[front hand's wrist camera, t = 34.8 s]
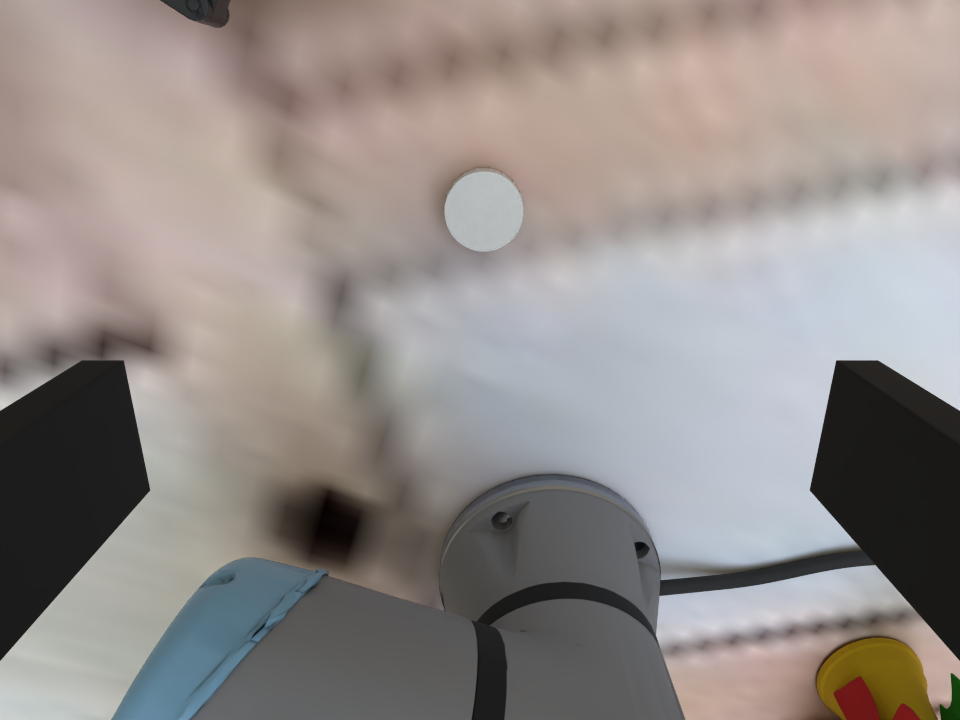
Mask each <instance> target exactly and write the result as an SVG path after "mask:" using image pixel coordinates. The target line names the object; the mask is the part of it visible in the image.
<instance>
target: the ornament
mask: <svg viewBox="0 0 960 720" xmlns="http://www.w3.org/2000/svg"><path fill="white" fill-rule="evenodd" d="M951 684H952V702H951V705H950V707H949V708H948V709H946V708H945V707H944V706H943V705H941V704H940V714H941V720H960V680H959V679H958V678H957V677H956V676H955V675H954V674H952V673H951ZM817 691H818V694H819V696H820V698H821V700H822V701H823V702H824V704H825V705H826V706H827V707H828V708H829V709H830V710H831V711H832V712H834V713H835V714H837V715H838V716H839V717H840V718H841V719H842V720H938V719H937V717H936V715H935V712H934V710H933V708H932V706H931V704H930V702H929V699H928V695H927V681H926V678H925V676H924V674H923V668H922V664H921V662H920V660H919V658H918V657H917V655H916V654H915V653H914V651H913V650H912V649H911V648H910V647H908V646H907V645H906V644H904V643H902V642H900V641H897V640H893V639H889V638H869V639H863V640H859V641H856V642H853V643H851V644H848V645H846V646H844V647H842V648H841V649H839V650H837V651H836V652H835V653H834V654H832V655H831V656H830V657H829V658H828V659H827V660H826V661H825V663H824V664H823V666H822V667H821V669H820V671H819V673H818V677H817Z"/></svg>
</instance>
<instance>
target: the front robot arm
mask: <svg viewBox="0 0 960 720" xmlns="http://www.w3.org/2000/svg"><path fill="white" fill-rule="evenodd" d="M149 491H150V487H149V482H148V477H147V472H146V468H145V463H144V458H143V453H142V448H141V443H140V438H139V433H138V428H137V423H136V419H135V414H134V409H133V404H132V399H131V394H130V389H129V384H128V379H127V375H126V370H125V365H124V361H81V362H79V363H77V364H76V365H74V366H72V367H71V368H69V369H68V370H66V371H64V372H63V373H61V374H59V375H58V376H56V377H55V378H53V379H51V380H50V381H48V382H46V383H45V384H43V385H42V386H40V387H38V388H37V389H35V390H33V391H32V392H30V393H29V394H27V395H25V396H24V397H22V398H20V399H19V400H17V401H16V402H14V403H12V404H11V405H9V406H7V407H6V408H4V409H3V410H1V411H0V660H1V659H2V658H3V657H4V656H5V655H6V654H7V652H8V651H9V650H10V649H11V648H12V647H13V646H14V644H15V643H16V642H17V641H18V640H19V639H20V638H21V637H22V635H23V634H24V633H25V632H26V631H27V630H28V629H29V627H30V626H31V625H32V624H33V623H34V622H35V621H36V619H37V618H38V617H39V616H40V615H41V614H42V613H43V612H44V610H45V609H46V608H47V607H48V606H49V605H50V604H51V602H52V601H53V600H54V599H55V598H56V597H57V596H58V594H59V593H60V592H61V591H62V590H63V589H64V588H65V586H66V585H67V584H68V583H69V582H70V581H71V580H72V579H73V577H74V576H75V575H76V574H77V573H78V572H79V571H80V569H81V568H82V567H83V566H84V565H85V564H86V563H87V561H88V560H89V559H90V558H91V557H92V556H93V555H94V554H95V552H96V551H97V550H98V549H99V548H100V547H101V546H102V544H103V543H104V542H105V541H106V540H107V539H108V538H109V536H110V535H111V534H112V533H113V532H114V531H115V530H116V529H117V527H118V526H119V525H120V524H121V523H122V522H123V521H124V519H125V518H126V517H127V516H128V515H129V514H130V513H131V511H132V510H133V509H134V508H135V507H136V506H137V505H138V504H139V502H140V501H141V500H142V499H143V498H144V497H145V496H146V494H147V493H148V492H149ZM810 491H811V492H812V493H813V494H814V496H815V497H816V498H817V499H818V500H819V501H820V502H821V504H822V505H823V506H824V507H825V508H826V509H827V510H828V511H829V513H830V514H831V515H832V516H833V517H834V518H835V519H836V521H837V522H838V523H839V524H840V525H841V526H842V527H843V529H844V530H845V531H846V532H847V533H848V534H849V535H850V536H851V538H852V539H853V540H854V541H855V542H856V543H857V544H858V546H859V547H860V548H861V549H862V550H863V551H856V552H847V553H839V554H833V555H827V556H822V557H816V558H811V559H807V560H802V561H797V562H793V563H788V564H784V565H779V566H775V567H770V568H764V569H759V570H753V571H747V572H740V573H732V574H723V575H712V576H701V577H691V578H681V579H670V580H661V570H660V562H659V558H658V554H657V551H656V548H655V546H654V543H653V541H652V538H651V536H650V533H649V531H648V529H647V527H646V525H645V523H644V521H643V520H642V518H641V517H640V515H639V514H638V513H637V512H636V510H635V509H634V508H633V507H632V506H631V505H630V504H629V503H628V502H627V501H626V500H624V499H623V498H622V497H620V496H619V495H618V494H616V493H615V492H613V491H611V490H610V489H608V488H606V487H604V486H602V485H599V484H597V483H594V482H591V481H588V480H585V479H581V478H576V477H571V476H562V475H541V476H532V477H526V478H521V479H518V480H514V481H511V482H508V483H505V484H502V485H500V486H498V487H496V488H494V489H492V490H490V491H488V492H487V493H485V494H483V495H482V496H480V497H479V498H478V499H476V500H475V501H474V502H473V503H471V504H470V505H469V506H468V507H467V508H466V509H465V510H464V511H463V512H462V513H461V514H460V516H459V517H458V518H457V519H456V521H455V522H454V524H453V525H452V527H451V529H450V531H449V533H448V535H447V537H446V540H445V543H444V545H443V550H442V554H441V564H440V575H439V589H440V595H441V600H442V603H443V606H444V609H445V611H444V610H443V611H441V610H438V609H434V608H431V607H427V606H424V605H421V604H417V603H414V602H410V601H407V600H403V599H400V598H397V597H393V596H390V595H387V594H383V593H380V592H377V591H374V590H371V589H367V588H364V587H361V586H358V585H355V584H351V583H348V582H345V581H342V580H339V579H335V578H332V577H329V576H328V574H329V571H326V570H323V569H318V570H315V571H311V570H306V569H302V568H298V567H294V566H290V565H286V564H282V563H278V562H274V561H270V560H265V559H261V558H242V559H238V560H235V561H233V562H230V563H228V564H226V565H225V566H223V567H221V568H220V569H218V570H217V571H216V572H215V573H213V574H212V575H211V576H210V577H209V578H208V579H207V580H206V581H205V582H204V583H203V584H202V585H201V586H200V587H199V588H198V590H197V591H196V592H195V593H194V594H193V596H192V597H191V598H190V599H189V600H188V602H187V603H186V604H185V606H184V607H183V608H182V609H181V611H180V612H179V613H178V615H177V616H176V618H175V619H174V620H173V622H172V623H171V624H170V626H169V627H168V629H167V630H166V632H165V633H164V635H163V636H162V638H161V639H160V641H159V642H158V644H157V645H156V647H155V648H154V650H153V651H152V653H151V654H150V656H149V657H148V659H147V660H146V662H145V664H144V665H143V667H142V668H141V670H140V672H139V673H138V675H137V677H136V678H135V680H134V681H133V683H132V685H131V686H130V688H129V690H128V691H127V693H126V695H125V697H124V698H123V700H122V702H121V704H120V705H119V707H118V709H117V711H116V712H115V714H114V716H113V718H112V720H685V717H684V715H683V712H682V709H681V706H680V703H679V700H678V697H677V695H676V692H675V689H674V686H673V683H672V680H671V678H670V675H669V672H668V669H667V666H666V663H665V661H664V658H663V655H662V652H661V650H660V647H659V644H658V641H657V638H656V627H657V616H658V604H659V596H663V595H673V594H683V593H693V592H703V591H712V590H723V589H732V588H740V587H747V586H753V585H760V584H765V583H771V582H776V581H781V580H785V579H790V578H795V577H799V576H804V575H808V574H813V573H818V572H823V571H829V570H834V569H841V568H848V567H856V566H867V565H876V566H877V567H878V568H879V569H880V571H881V572H882V573H883V574H884V575H885V576H886V577H887V579H888V580H889V581H890V582H891V583H892V584H893V585H894V587H895V588H896V589H897V590H898V591H899V592H900V593H901V594H902V596H903V597H904V598H905V599H906V600H907V601H908V602H909V604H910V605H911V606H912V607H913V608H914V609H915V610H916V612H917V613H918V614H919V615H920V616H921V617H922V618H923V619H924V621H925V622H926V623H927V624H928V625H929V626H930V627H931V629H932V630H933V631H934V632H935V633H936V634H937V635H938V637H939V638H940V639H941V640H942V641H943V642H944V643H945V644H946V646H947V647H948V648H949V649H950V650H951V651H952V652H953V654H954V655H955V656H956V657H957V658H958V659H959V660H960V411H959V410H957V409H956V408H954V407H953V406H951V405H949V404H948V403H946V402H944V401H943V400H941V399H940V398H938V397H936V396H935V395H933V394H931V393H930V392H928V391H927V390H925V389H923V388H922V387H920V386H918V385H917V384H915V383H914V382H912V381H910V380H909V379H907V378H905V377H904V376H902V375H901V374H899V373H897V372H896V371H894V370H892V369H891V368H889V367H888V366H886V365H884V364H883V363H881V362H879V361H836V365H835V370H834V375H833V379H832V384H831V389H830V394H829V399H828V404H827V409H826V414H825V419H824V423H823V428H822V433H821V438H820V443H819V448H818V453H817V458H816V463H815V468H814V472H813V477H812V482H811V487H810ZM437 593H438V592H437ZM438 596H439V595H438ZM439 599H440V598H439ZM440 602H441V601H440ZM441 605H442V604H441ZM442 608H443V607H442Z"/></svg>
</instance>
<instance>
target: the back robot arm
mask: <svg viewBox="0 0 960 720" xmlns="http://www.w3.org/2000/svg"><path fill="white" fill-rule="evenodd" d="M161 1H162V2H164V3H165V4H167V5H168V6H170V7H171V8H173V9H175V10H176V11H178V12H179V13H181V14H182V15H184V16H185V17H187V18H188V19H191V20H193V21H196V22H199V23H202V24H205V25H209V26H212V27H215V28H219V27H223V26H225V25H226V23H227V22H228V20H229V10H228V6H229V3H230V0H161Z"/></svg>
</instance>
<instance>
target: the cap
mask: <svg viewBox="0 0 960 720" xmlns="http://www.w3.org/2000/svg"><path fill="white" fill-rule="evenodd" d="M446 196H447V198H446V202H445V205H444V216H445V222H446V225H447V227H448V230H449V231H450V233H451V235H452V236H453V237H454V239H455V240H456V241H457V242H459V243H460V244H461V245H463V246H464V247H466V248H468V249H471V250H474V251H480V252H488V251H494V250H497V249H499V248H502V247H503V246H505V245H507V244H508V243H509V242H510V241H511V240H512V239H513V238H514V237H515V236H516V235H517V233H518V231H519V229H520V227H521V225H522V222H523V215H524V205H523V202H522V198H521V193H520V191H519V190H518V189H517V187H516V185H515V184H514V181H513V180H511V179H510V178H509V177H508V176H506V175H505V174H504V173H503V172H500V171H498V170H495V169H491V167H489V168H478V167H477V168H476V169H473V170H470V171H468V172H464V174H463V175H461V176H460V177H459V178H458V179H457V180H455V181H454V183H453V185H452V187H451V189H450V191H448V193H447V195H446Z"/></svg>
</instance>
